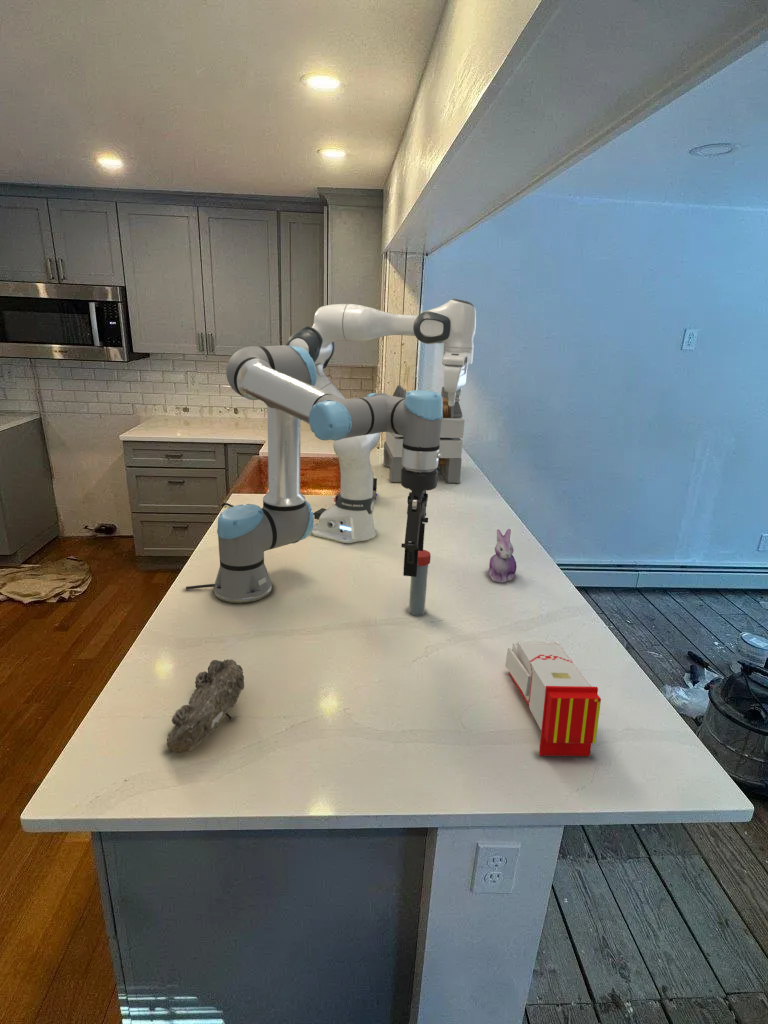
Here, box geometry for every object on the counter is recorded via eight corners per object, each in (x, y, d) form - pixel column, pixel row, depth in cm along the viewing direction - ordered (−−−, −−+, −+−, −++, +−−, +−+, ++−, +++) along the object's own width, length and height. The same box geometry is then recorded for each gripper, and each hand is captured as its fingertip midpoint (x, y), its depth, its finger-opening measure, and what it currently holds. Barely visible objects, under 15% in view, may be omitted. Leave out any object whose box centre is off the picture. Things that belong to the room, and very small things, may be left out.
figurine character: (377, 508, 228) (376, 492, 242) (377, 490, 225) (377, 476, 238) (360, 507, 228) (361, 492, 242) (360, 490, 225) (361, 475, 238)
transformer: (382, 463, 289) (386, 382, 275) (445, 464, 293) (451, 384, 279) (390, 482, 257) (394, 392, 243) (460, 483, 261) (468, 394, 247)
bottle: (414, 606, 152) (418, 550, 146) (427, 611, 150) (432, 554, 144) (405, 611, 149) (409, 554, 143) (418, 617, 146) (422, 559, 141)
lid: (417, 556, 148) (418, 547, 147) (433, 561, 145) (434, 553, 144) (406, 562, 144) (406, 553, 143) (422, 567, 141) (423, 559, 140)
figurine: (500, 586, 164) (506, 538, 159) (479, 572, 173) (484, 526, 168) (525, 580, 169) (532, 534, 164) (503, 567, 177) (509, 522, 172)
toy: (554, 624, 127) (610, 694, 97) (548, 679, 130) (602, 763, 100) (500, 623, 126) (541, 693, 97) (496, 678, 129) (534, 763, 100)
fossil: (192, 660, 117) (244, 628, 112) (224, 691, 120) (276, 661, 115) (142, 746, 98) (202, 712, 93) (182, 779, 101) (242, 748, 96)
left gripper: (433, 486, 104) (425, 590, 111) (442, 455, 127) (435, 542, 135) (392, 483, 105) (387, 585, 112) (409, 452, 128) (404, 539, 136)
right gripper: (453, 354, 180) (449, 398, 185) (441, 358, 161) (437, 407, 166) (473, 355, 178) (468, 399, 183) (463, 360, 160) (459, 409, 164)
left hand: (413, 562), depth 123 cm, fingers open, 13 cm apart
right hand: (454, 403), depth 174 cm, fingers open, 8 cm apart
